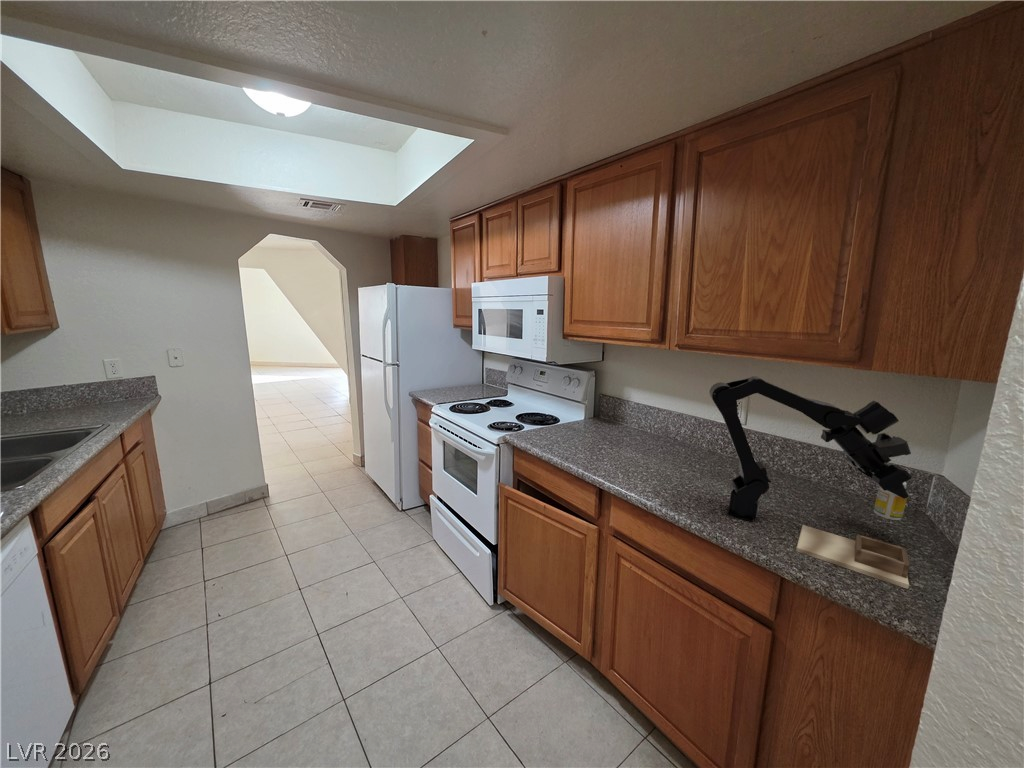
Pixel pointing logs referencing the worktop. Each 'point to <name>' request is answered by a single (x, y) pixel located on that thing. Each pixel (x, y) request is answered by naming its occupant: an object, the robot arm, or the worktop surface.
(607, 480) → the worktop surface
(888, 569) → the socket board
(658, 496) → the worktop surface
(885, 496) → the supplement bottle
